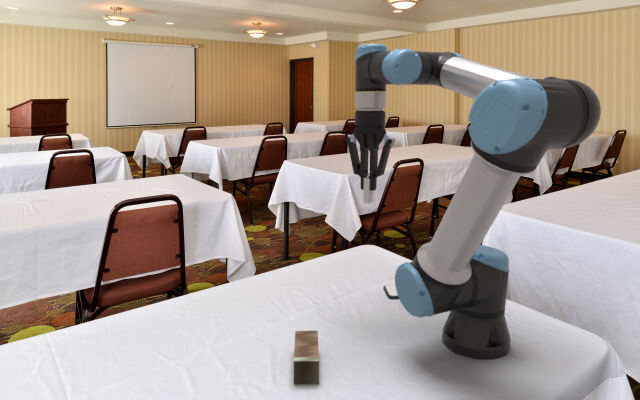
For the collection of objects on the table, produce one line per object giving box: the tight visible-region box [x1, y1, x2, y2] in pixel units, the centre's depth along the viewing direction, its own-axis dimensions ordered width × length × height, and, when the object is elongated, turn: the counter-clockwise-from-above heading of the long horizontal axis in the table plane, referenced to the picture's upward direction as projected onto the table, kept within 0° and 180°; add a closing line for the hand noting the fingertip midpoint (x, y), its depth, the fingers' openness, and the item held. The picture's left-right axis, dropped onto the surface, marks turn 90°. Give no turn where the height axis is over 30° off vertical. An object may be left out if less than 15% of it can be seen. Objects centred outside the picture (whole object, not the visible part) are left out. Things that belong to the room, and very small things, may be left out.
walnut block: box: [293, 330, 320, 385], centre depth 105 cm, size 5×5×13 cm
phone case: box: [383, 284, 400, 300], centre depth 145 cm, size 9×2×16 cm
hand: (368, 202), depth 128 cm, fingers closed
